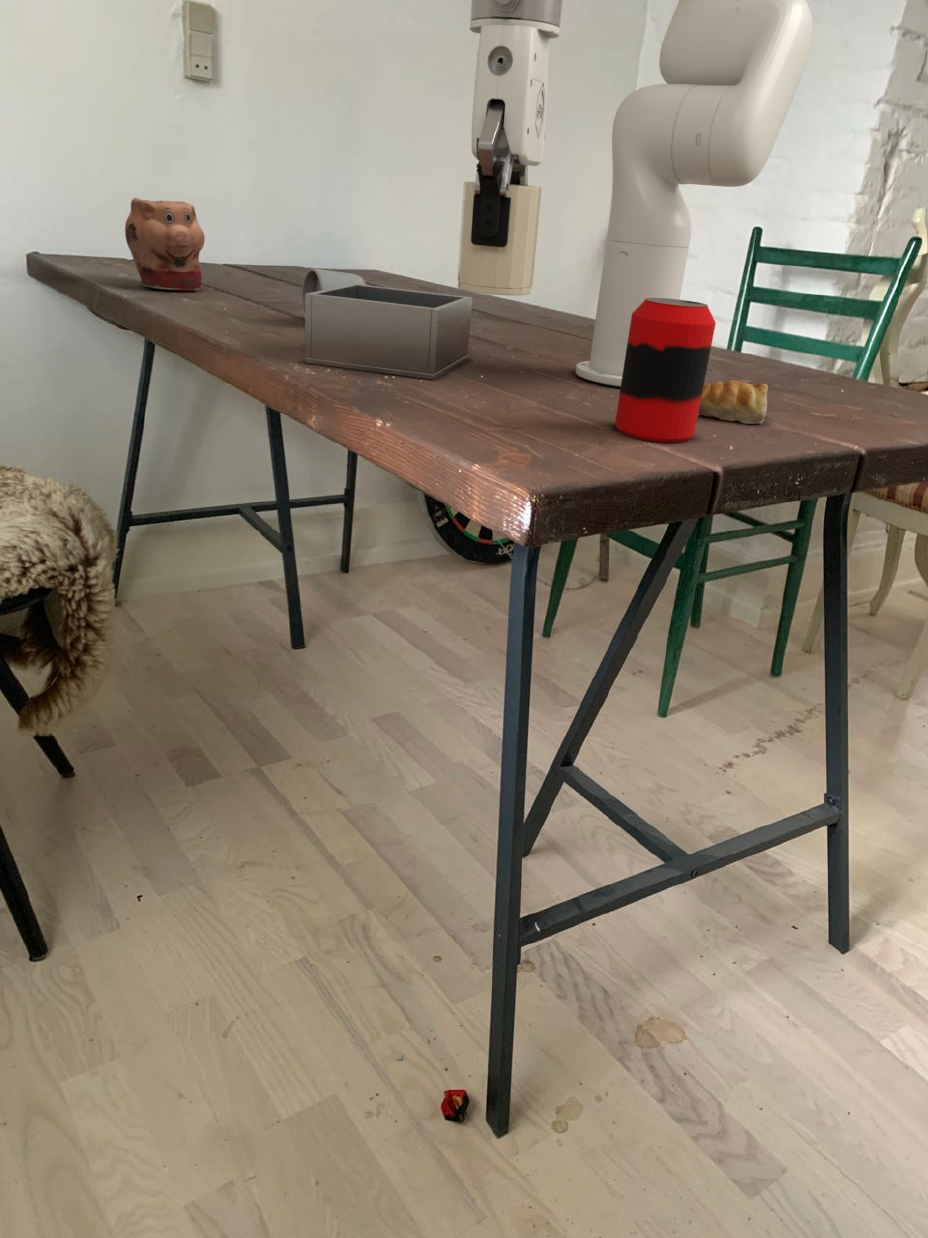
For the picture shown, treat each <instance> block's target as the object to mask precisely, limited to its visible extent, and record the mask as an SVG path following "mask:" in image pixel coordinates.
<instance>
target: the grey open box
mask: <svg viewBox="0 0 928 1238" xmlns="http://www.w3.org/2000/svg"><path fill="white" fill-rule="evenodd" d="M472 308H473V297H472V296H466V295H465V296H464V295H455V294H446V293H438V292H431V291H429V292H428V291H421V290H411V289H402V288H396V287H395V288H394V287H386V286H376V285H369V284H367V285H360V284H351V285H346V286H341V287H336V288H331V289H326V290H321V291H317V292H312V293H307V294H305V317H304V363H305V364H310V365H319V366H326V367H333V368H340V369H348V370H354V371H355V370H356V371H363V372H364V371H365V372H371V373H378V374H385V375H392V376H393V375H394V376H401V377H408V378H415V379H421V380H422V379H424V380H430V381H435V380H436V379H438V378H440V377H441V376H443V375H445V374H446V373H448V372H450V371H451V370H453V369H454V368H457V367H458V366H459V365H461V364H463V363H465V362H466V361H468V358H469V357H468V356H469V346H470V345H469V343H470V332H471V321H472V320H471V319H472Z"/></svg>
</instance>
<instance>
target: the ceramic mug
mask: <svg viewBox="0 0 928 1238" xmlns="http://www.w3.org/2000/svg"><path fill="white" fill-rule="evenodd" d="M351 284H360V285H368V283H367V281H366V280H365V279H364V278H363V276H361V275H358V274H355V273H353V272H351V273H350V272H346V271H345V272H343V271H337V270H329V269H321V268H310V269H308V270H307V272H306V273H305V276H304V278H303V281H302V285H301V292H300V293H301V295H300V297H301V309H302V312H303V313H302V314H303V316H304V318H305V294H307V293H312V292H317V291H321V290H326V289H331V288H336V287H341V286H346V285H351Z"/></svg>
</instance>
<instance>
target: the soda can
mask: <svg viewBox="0 0 928 1238" xmlns="http://www.w3.org/2000/svg"><path fill="white" fill-rule="evenodd" d="M716 324H717V322H716V320H715V319H714V316H713V314H712V312H711V310H710V309H709V305H708V304H706V303H703V302H698V301H693V300H686V299H680V300H678V299H668V298H645V300H644V301H643V302H642V304H641V305H640V306H639V307H638V308H637V309H636V310H635V311H634V312H633V313H632V317H631V323H630V330H629V336H628V342H627V349H626V355H625V362H624V368H623V375H622V381H621V387H619V394H618V401H617V408H616V414H615V421H614V426H615V427H616V429H617V431H618V432H619V433H621V434H622V435H625V436H626V437H627V436H628V437H630V438H634V439H637V440H643V441H648V442H656V443H669V444H670V443H671V444H672V443H674V444H675V443H684V442H687V441H689V440H690V439H691V438H693V437H694V435H695V432H696V428H697V422H698V421H697V420H698V417H699V415H698V412H699V407H700V402H701V397H702V392H703V386H704V384H705V381H706V375H707V372H708V371H707V370H708V365H709V360H710V354H711V351H712V350H711V348H712V346H713V345H712V344H713V339H714V334H715V329H716Z"/></svg>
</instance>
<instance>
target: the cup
mask: <svg viewBox="0 0 928 1238" xmlns="http://www.w3.org/2000/svg"><path fill="white" fill-rule="evenodd" d="M462 183H463V185H462V200H461V201H462V202H461V217H460V218H461V219H460V236H459V252H458V266H457V267H458V268H457V288H458V289H459V290H461V291H466V292H469V293H470V292H471V293H477V294H483V295H492V296H493V295H494V296H526V295H530V294H532V287H533V283H534V273H535V263H536V253H537V252H536V251H537V243H538V242H537V241H538V240H537V239H538V231H539V230H538V229H539V221H540V211H541V210H540V209H541V201H542V199H541V198H542V188H543V187H541V186H537V185H528V186H526V185H515V184H509V189H508V195H507V197H511V206H510V218H509V230H508V242H507V245H506V246H505V247H493V246H482V245H474V244H472V242H471V231H472V215H473V200H474V195H475V192H474V187H475V181H469V180H468V181H467V180H465V181H463V182H462Z"/></svg>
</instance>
